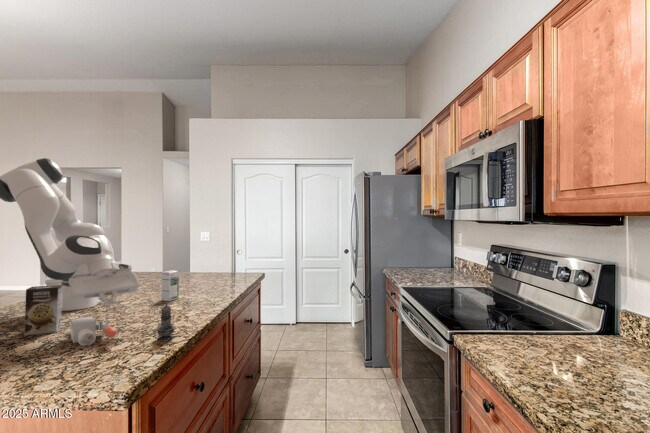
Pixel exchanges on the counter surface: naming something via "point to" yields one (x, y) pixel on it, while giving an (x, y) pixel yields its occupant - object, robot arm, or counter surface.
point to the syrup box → (170, 285)
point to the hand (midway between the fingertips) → (109, 304)
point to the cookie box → (43, 309)
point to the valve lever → (107, 329)
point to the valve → (84, 330)
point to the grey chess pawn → (165, 325)
